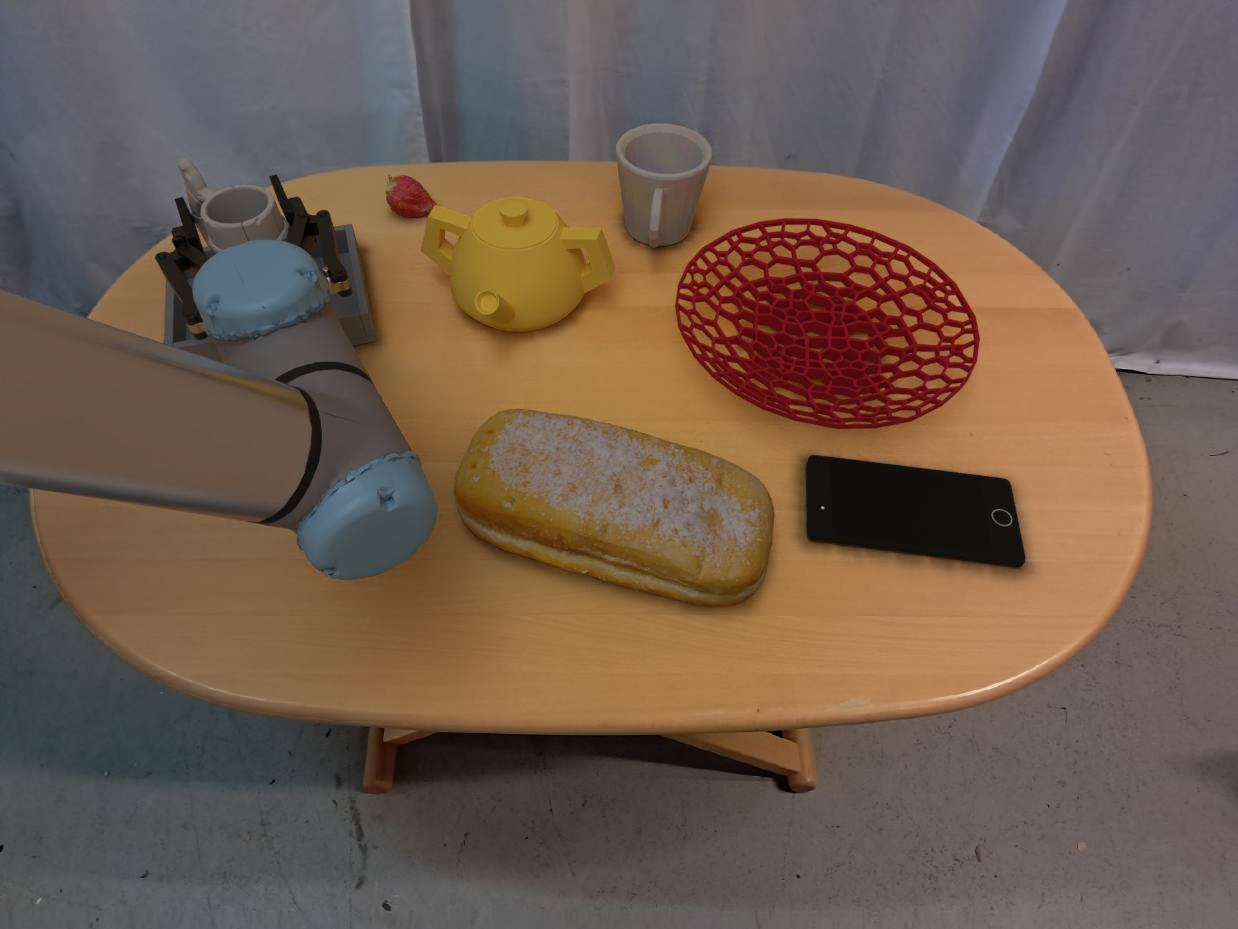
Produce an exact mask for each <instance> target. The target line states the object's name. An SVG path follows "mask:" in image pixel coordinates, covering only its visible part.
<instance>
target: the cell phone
mask: <svg viewBox="0 0 1238 929" xmlns="http://www.w3.org/2000/svg"><path fill="white" fill-rule="evenodd" d="M805 464H806V465H805V474H806V475H805V476H806V477H805V478H806V479H805V480H806V483H805V484H806V485H805V486H806V487H805V488H806V491H805V492H806V495H805V496H806V535H807V539H808V540H810V542H811V541H812V542H817V543H827V544H835V545H842V546H843V545H844V546H850V547H858V548H866V549H874V550H882V551H890V552H896V553H904V554H912V555H918V556H919V555H920V556H927V557H935V558H942V559H943V558H944V559H949V560H950V559H951V560H958V561H967V562H972V563H980V564H988V565H996V566H1004V567H1010V568H1011V567H1012V568H1015V569H1020V568H1022V567H1023V566H1024V564H1025V563H1026V552H1025V547H1024V543H1023V537H1022V533H1021V527H1020V522H1019V517H1018V513H1017V508H1016V501H1015V498H1014V492H1013V487H1012V484H1011V481H1010V480H1009V479H1007V478H1004V477H998V476H989V475H981V474H975V473H965V472H959V471H949V470H940V469H933V468H924V467H919V466H918V467H917V466H908V465H902V464H893V463H886V462H885V463H884V462H879V461H868V460H862V459H861V460H860V459H855V458H854V459H852V458H846V457H836V456H829V455H819V454H818V455H817V454H810V455H809V456H808V458H807V461H806V463H805Z"/></svg>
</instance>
